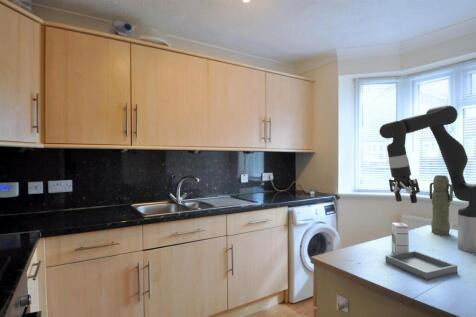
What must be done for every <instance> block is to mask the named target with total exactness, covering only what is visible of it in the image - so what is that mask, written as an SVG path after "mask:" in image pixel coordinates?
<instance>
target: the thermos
mask: <svg viewBox="0 0 476 317" xmlns="http://www.w3.org/2000/svg"><path fill="white" fill-rule="evenodd" d="M429 200H431V204H432V219H431V223H430V224H431V226H430V227H431V233H432V234H434V235H437V236H438V235H439V236H450V231H451V223H450V215H449V214H450V206H451V202H453V201H454V192H453V188H452V183H450V179H449V178H448V176H447V175H441V174H440V175H434V178H433V180H432V182H431V183H429Z"/></svg>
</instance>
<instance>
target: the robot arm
mask: <svg viewBox="0 0 476 317" xmlns="http://www.w3.org/2000/svg"><path fill="white" fill-rule="evenodd" d="M458 115H459V114H458V110H457V109H456V107H454V106H452V105H441V106H436V107H431V108H429V109H427V111H426V113H424V114H419V115H414V116H409V117H405V118H402V119H399V120H395V121H391V122H387V123H384V124H382V125H381V127H380V128H379V135H380V136H381V137H382V138H384V139H387V140H388V139H392V142H391V143H389V144H387V146H386V150H387V155H388V163H389V164H388V165H389V171H390V174H391V178H390V179H388V184H389V191H390V192H391V193H393V194H394V198H395V200H396V202H402V194H401V190H405V191H406V192H408V194H409V200H410V203H411V204H417V202H418V198H417V194H419V193H420V192H421V191H420V187H419V182H418V179H417V178H411V175H412V172H411V168H410V162H409V158H408V154H407V150H406V138H407V135H408V134H410V133H411V134H412V133H415V132H419V131H421V130H424V129H426V128H427V129H428V128H429V129H430V131H431V132H432V134H433V137H434V138H435V141H436V143H437V146H438V149H439V152H440V154H441V157H442V160H443V162H444V164H445V167H446V169H447V172H448V175H449V180H450V182H451V183H450V184H451V185H452V188H453V195H454V196H455V197H456V199H457V200H459V201H462V202H467V203H468V205H467V206H466V207H461V208H458V209H457V210H458V211H457V248H458V249H459V250H461V251H464V252H467V253H468V252H469V253H473V254H474V253H475V254H476V183H468V182H466V180H465V177H464V171H465V170H466V167H467V164H468V159H469V158H468V154H467V151H466V150H465V149H466V148H464V146H463V144H461V142H460V141H459V140H457V139H456V138H455V137H453V136H452V135H451V134H450V133H449V132H448V131H447V128H445V126H448V125H451V124H453V123H455V122H456V121H457V119H458Z"/></svg>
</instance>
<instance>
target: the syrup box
mask: <svg viewBox="0 0 476 317" xmlns="http://www.w3.org/2000/svg"><path fill="white" fill-rule="evenodd" d="M409 235H410V234H409V225H407V224H406V223H404V222H392V223H391V252H392V254H398V253H403V252H409V250H410V248H409V245H410V244H409V243H410V241H409V238H410V236H409Z"/></svg>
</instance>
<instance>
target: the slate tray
mask: <svg viewBox="0 0 476 317" xmlns="http://www.w3.org/2000/svg"><path fill="white" fill-rule="evenodd" d="M385 263H387V265H388V264H389V265H391V266H393V267H395V268H397V269H399V270H402V271H404V272H406V273H409V274H411V275H412V276H413V275H414V276H416V277H417V278H420V279H422V280H425V281H430V280H434V279H439V278H443V277H447V276H451V275H454V274H458V265H457V264H454V263H451V262H448V261H445V260H442V259H440V258H437V257H434V256H431V255H429V254H427V253H426V254H425V253H422V252H420V251H417V250H410V251H409V252H403V253H398V254H394V253H392V254H388V255H385Z"/></svg>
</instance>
